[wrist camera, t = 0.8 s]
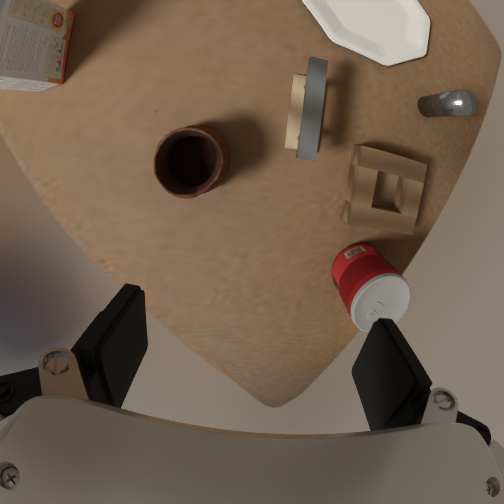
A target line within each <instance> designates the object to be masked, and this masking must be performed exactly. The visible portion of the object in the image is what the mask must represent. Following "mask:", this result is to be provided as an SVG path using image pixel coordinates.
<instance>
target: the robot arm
mask: <svg viewBox="0 0 504 504" xmlns="http://www.w3.org/2000/svg"><path fill="white" fill-rule="evenodd" d="M147 346H148V339H147V326H146V311H145V293H144V291H143V290H141V288H140V286H137V285H132V284H125V285H124V286H123V287H122V288H121V289H120V291H119V292H118V293H117V294H116V296H115V297H114V298H113V299H112V300H111V302H110V303H109V304H108V305H107V307H106V308H105V309H104V310H103V311H101V312H100V313H99V314H98V315H97V316H96V318H95V319H94V320H93V322H92V323H91V324H90V325H89V326H88V328H87V329H86V330H85V332H84V333H83V334H82V336H81V337H80V338H79V340H78V341H77V342H76V343H75V345H74V346H73V347H72V349H71V350H68V349H65V348H53V349H49V350H48V351H46V352H44V353H43V354H42V355H41V357H40V359H39V361H38V367H36V368H32V369H28V370H24V371H20V372H16V373H12V374H7V375H3V376H0V504H504V448H503V447H502V446H500V445H499V444H498V443H497V442H496V441H495V440H492V441H491V434H490V431H489V429H488V427H487V426H486V425H484V424H483V423H481V422H479V421H477V420H475V419H473V418H471V417H469V416H467V415H465V414H463V413H461V412H459V411H458V401H457V398H456V397H455V395H454V394H452V392H450V391H449V390H447V389H444V388H435V389H433V390H432V391H431V390H430V386H431V385H432V382H431V380H430V378H429V376H428V375H427V373H426V371H425V370H424V368H423V366H422V365H421V363H420V361H419V360H418V358H417V356H416V355H415V353H414V352H413V350H412V348H411V347H410V345H409V344H408V342H407V341H406V339H405V338H404V336H403V335H402V333H401V331H400V330H399V328H398V327H397V325H396V324H395V322H394V321H393V320H392V319H390V318H379V319H378V320H377V321H375V322H374V323H373V324H372V327H371V329H370V331H369V334H368V336H367V338H366V340H365V342H364V345H363V347H362V349H361V351H360V353H359V355H358V357H357V359H356V361H355V363H354V365H353V368H352V376H353V379H354V382H355V385H356V388H357V390H358V394H359V396H360V399H361V402H362V405H363V408H364V412H365V415H366V418H367V421H368V424H369V427H370V430H371V431H366V432H355V433H340V434H317V435H316V434H315V435H314V434H313V435H296V434H294V435H293V434H267V433H253V432H242V431H232V430H224V429H216V428H209V427H202V426H196V425H191V424H185V423H180V422H175V421H170V420H166V419H161V418H157V417H152V416H148V415H144V414H140V413H136V412H132V411H128V410H125V409H121V406H122V404H123V402H124V399H125V397H126V395H127V392H128V390H129V388H130V386H131V383H132V381H133V379H134V377H135V374H136V372H137V370H138V367H139V366H140V364H141V361H142V359H143V357H144V355H145V353H146V350H147Z"/></svg>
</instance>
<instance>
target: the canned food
mask: <svg viewBox="0 0 504 504" xmlns="http://www.w3.org/2000/svg"><path fill="white" fill-rule="evenodd" d="M332 279H333V282H334V284H335V286H336V288H337V290H338V292H339V294H340V296H341V298H342V300H343V302H344V304H345V306H346V309H347V311H348V313H349V315H350V317H351V318H352V320H353V322H354V324H355V325H356V326H357V327H358V328H359V329H360V330H362V331H365V332H369V331H370V329H371V327H372V324H373V323H374V322H375V321H377V320H378V319H379V318H390V319H392V320H393V321H394V322H395V323H397V322H398V321H399V320H400V319H401V318H402V316H403V315H404V314H405V312H406V311H407V308H408V307H409V304H410V301H411V289H410V286H409V284H408V283H407V281H406V280H405V279H404V278H403V276H402V275H401V274H400V273H399V272H398V271H397V270H396V269H395V268H394V267H393V266H392V265H391V264H390V263H389V262H388V261H387V260H386V259H385V258H384V257H383V256H382V255H381V254H380V253H379V252H377V251H376V250H375V249H374V248H373V247H371V246H369V245H365V244H354V245H351V246H348V247H347V248H345V249H344V250H342V251H341V252H340V253H339V254H338V256H337V257H336V259H335V261H334V263H333V267H332Z"/></svg>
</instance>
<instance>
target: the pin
mask: <svg viewBox="0 0 504 504" xmlns="http://www.w3.org/2000/svg"><path fill="white" fill-rule="evenodd" d="M418 109H419V111H420V113H421V114H422V115H423V116H425V117H441V116H459V115H473V114H475V112H476V110H477V103H476V100H475V97H474V96H473V94H472V93H471V92H470V91H469V90H466V89H464V90H457V91H451V92H445V93H440V94H435V95H430V96H425V97H421V98H420V99H419V100H418Z"/></svg>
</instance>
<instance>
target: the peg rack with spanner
mask: <svg viewBox="0 0 504 504" xmlns="http://www.w3.org/2000/svg"><path fill="white" fill-rule="evenodd" d="M327 65H328V60H323V59H319V58H314V57H310V58H309V59H308V67H307V76H303V75H297V74H294V76H293V84H292V92H291V100H290V108H289V116H288V124H287V132H286V139H285V147H284V148H291V149H297V155H296V158H301V159H307V160H313V161H316V156H317V149H318V142H319V134H320V127H321V119H322V111H323V103H324V94H325V85H326V75H327Z"/></svg>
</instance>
